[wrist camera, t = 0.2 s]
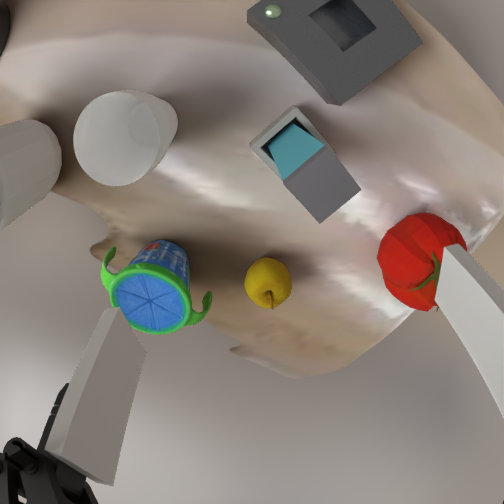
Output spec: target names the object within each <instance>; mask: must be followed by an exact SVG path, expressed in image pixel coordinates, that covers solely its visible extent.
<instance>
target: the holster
mask: <svg viewBox="0 0 504 504" xmlns="http://www.w3.org/2000/svg"><path fill="white" fill-rule="evenodd" d="M294 118H295V119H296V120H297V121H298V122H299V123H300V124H301V125H302V126H303V127H304V129H305V130H306V131H307V132H308V133H309V134H310V135H311V136H313V137H314V138H316V139H317V140H318V141H320V142H321V143H323V144H324V145H326V146H327V147H328V148H329V149H330V150H331V151H332V152H333V154H334V153H335V151H334V150H333V148H332V147H331V146H330V145H329V144H328V142H327V141H326V140H325V139H324V138H323V136H322V135H321V134H320V133H319V132H318V130H317V129H316V128H315V127H314V126H313V125H312V124H311V122H310V121H309V120H308V119H307V118H306V117H305V116H304V115H303V113H302V112H301V111H300V110H299V109H298V108H297V107H295V106H291V107H290V108H289V109H288V110H287V111H286V112H284V113H283V114H282V115H281V116H280V117H279V118H277V119H276V120H275V121H274V122H273V123H272V124H271V125H269V126H268V127H267V128H266V129H265V130H264V131H263V132H262V133H260V134H259V135H258V136H257V137H256V138H255V139H254V140H253V141H252V142H250V148H251V149H252V150H253V151H254V152H255V153H256V154H257V155H258V156H259V157H260V158H261V159H262V160H263V161H264V162H265V163H266V164H267V165H268V166H269V167H270V168H271V169H272V170H273V171H274V172H275V173H276V174H277V175H278V177H279V178H280V179H281V180H282V178H281V176H280V173H279V171H278V168H277V166H276V164H275V161H274V159H273V157H272V156H271V155H270V154H269V153H268V152H267V151H266V150H265V149H264V148H263V147H262V146H263V145H264V144H265V143H266V142H267V141H268V140H269V139H271V138H272V137H273V136H274V135H275V134H276V133H277V132H279V131H280V130H281V129H282V128H283V127H284V126H285V125H287V124H288V123H289V122H290V121H291V120H293V119H294Z"/></svg>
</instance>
